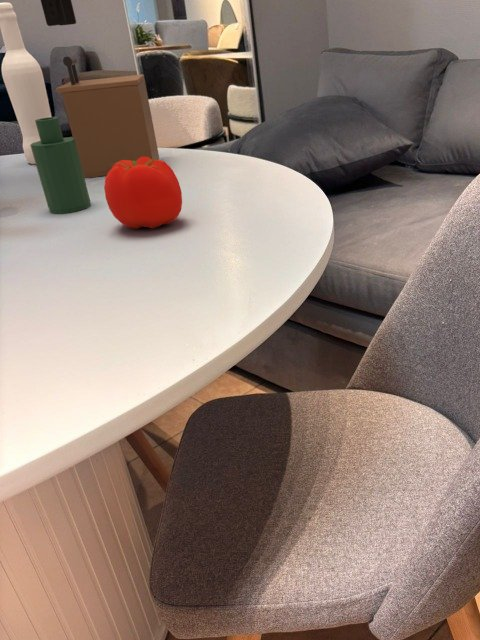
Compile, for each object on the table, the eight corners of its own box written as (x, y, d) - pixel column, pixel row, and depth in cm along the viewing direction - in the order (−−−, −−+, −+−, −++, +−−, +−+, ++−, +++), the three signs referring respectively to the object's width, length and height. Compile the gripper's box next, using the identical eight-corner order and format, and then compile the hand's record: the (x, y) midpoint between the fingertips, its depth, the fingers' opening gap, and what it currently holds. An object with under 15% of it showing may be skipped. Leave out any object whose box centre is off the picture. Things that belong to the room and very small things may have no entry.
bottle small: (45, 215, 99) (19, 124, 92) (54, 205, 104) (29, 118, 98) (87, 210, 99) (64, 119, 92) (93, 200, 105) (72, 113, 98)
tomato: (168, 237, 83) (154, 168, 79) (96, 236, 86) (79, 169, 82) (201, 214, 92) (191, 150, 87) (135, 214, 95) (121, 152, 90)
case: (83, 178, 122) (61, 93, 114) (94, 164, 133) (75, 86, 125) (154, 170, 122) (138, 85, 115) (159, 157, 134) (144, 79, 126)
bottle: (64, 155, 146) (24, 1, 131) (65, 161, 139) (23, 0, 124) (28, 160, 144) (-17, 5, 129) (26, 166, 138) (-21, 3, 122)
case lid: (57, 93, 114) (48, 59, 111) (70, 86, 125) (63, 55, 123) (138, 84, 115) (131, 50, 112) (144, 78, 126) (138, 47, 123)
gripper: (23, -86, 112) (51, 26, 121) (-6, -101, 98) (29, 27, 107) (65, -90, 113) (91, 22, 122) (44, -106, 98) (74, 23, 107)
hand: (62, 24), depth 114 cm, fingers open, 9 cm apart
